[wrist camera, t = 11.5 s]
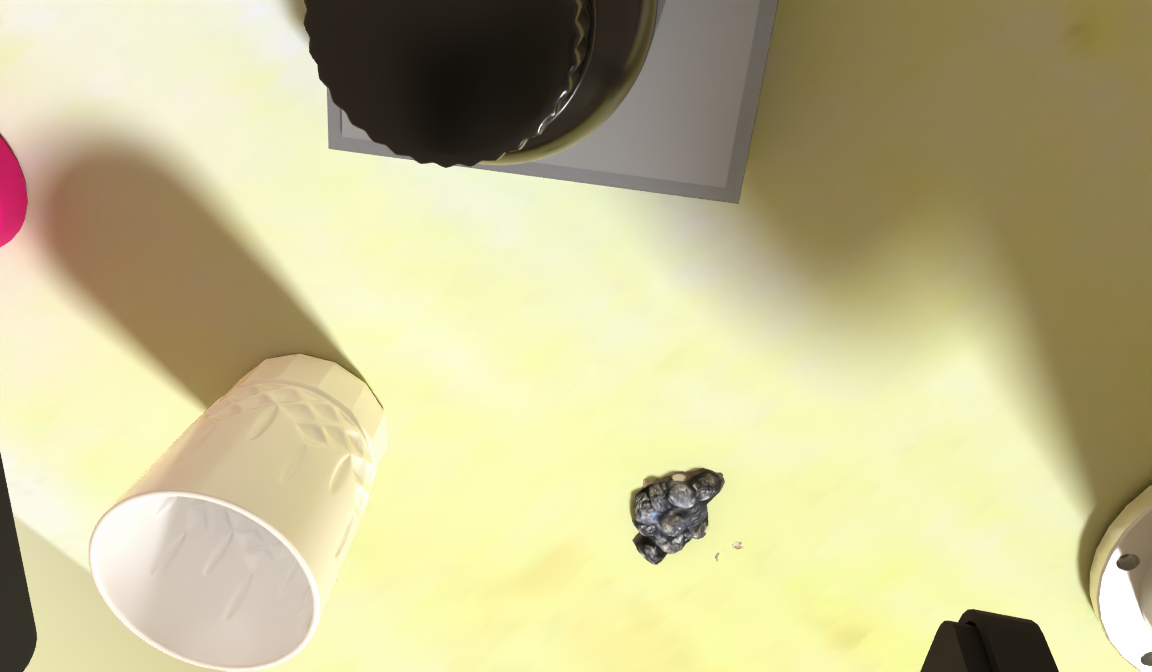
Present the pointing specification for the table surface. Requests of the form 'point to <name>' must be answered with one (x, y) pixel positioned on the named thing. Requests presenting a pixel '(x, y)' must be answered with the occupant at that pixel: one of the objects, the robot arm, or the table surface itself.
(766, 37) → the slate riser
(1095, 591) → the robot arm
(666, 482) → the blueberries
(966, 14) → the table surface
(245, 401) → the white cup
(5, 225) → the pepper mill
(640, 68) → the supplement bottle
